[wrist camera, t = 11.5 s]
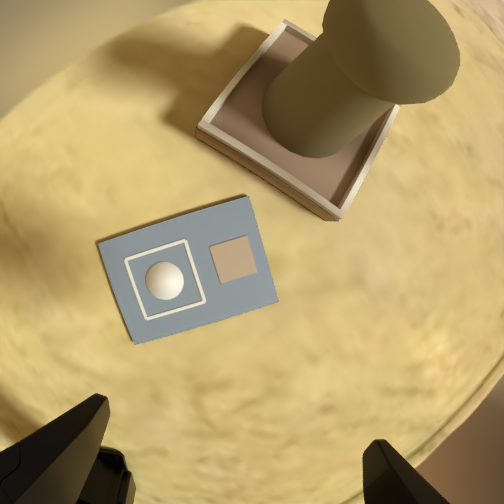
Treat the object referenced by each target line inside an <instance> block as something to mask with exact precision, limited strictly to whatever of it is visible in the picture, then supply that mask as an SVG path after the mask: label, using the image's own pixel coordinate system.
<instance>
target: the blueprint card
mask: <svg viewBox="0 0 504 504" xmlns="http://www.w3.org/2000/svg"><path fill="white" fill-rule="evenodd" d="M98 246H99V249H100V252H101V256H102V259H103V262H104V265H105V268H106V271H107V274H108V277H109V280H110V283H111V286H112V289H113V291H114V294H115V297H116V300H117V302H118V305H119V308H120V310H121V313H122V315H123V318H124V320H125V323H126V325H127V328H128V330H129V333H130V335H131V337H132V340H133V342H134V344H135V345H136V344H140V343H144V342H147V341H151V340H155V339H158V338H162V337H166V336H169V335H173V334H176V333H180V332H183V331H187V330H190V329H194V328H197V327H200V326H204V325H207V324H210V323H214V322H217V321H220V320H224V319H227V318H230V317H233V316H236V315H240V314H243V313H246V312H249V311H252V310H255V309H258V308H261V307H264V306H267V305H270V304H273V303H276V302H279V300H278V297H277V293H276V290H275V286H274V282H273V279H272V275H271V272H270V268H269V264H268V261H267V257H266V254H265V250H264V247H263V243H262V240H261V236H260V232H259V229H258V225H257V222H256V218H255V215H254V211H253V208H252V204H251V201H250V198H249V196H246V197H243V198H239V199H236V200H232V201H229V202H225V203H222V204H219V205H215V206H212V207H208V208H205V209H202V210H198V211H195V212H192V213H189V214H185V215H182V216H179V217H176V218H173V219H169V220H166V221H163V222H160V223H157V224H154V225H151V226H148V227H145V228H142V229H139V230H136V231H133V232H130V233H127V234H124V235H121V236H118V237H116V238H113V239H110V240H107V241H104V242H101V243H99V244H98Z"/></svg>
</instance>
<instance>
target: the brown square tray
mask: <svg viewBox="0 0 504 504" xmlns="http://www.w3.org/2000/svg"><path fill="white" fill-rule="evenodd" d="M315 39H317V38H316V37H314V36H313V35H311V34H309V33H308V32H306V31H304V30H303V29H301V28H299V27H298V26H296V25H294V24H293V23H291V22H289V21H287V20H285V19H284V20H283V22H282V23H281V24H280V25H279V26H278V27H277V28H276V29H275V30H274V31H273V32H272V33H271V34H270V35H269V37H268V38H267V39H266V40H265V41H264V42H263V43H262V44H261V45H260V47H259V48H258V49H257V50H256V51H255V52H254V53H253V55H252V56H251V57H250V58H249V59H248V60H247V62H246V63H245V64H244V65H243V66H242V68H241V69H240V70H239V71H238V72H237V74H236V75H235V76H234V77H233V79H232V80H231V81H230V82H229V84H228V85H227V86H226V87H225V89H224V90H223V91H222V93H221V94H220V95H219V96H218V98H217V99H216V100H215V102H214V103H213V104H212V106H211V107H210V108H209V110H208V111H207V112H206V114H205V115H204V116H203V118H202V119H201V121H200V122H199V123H198V125H197V127H196V128H195V131H196V138H198V139H199V140H201V141H203V142H204V143H206V144H208V145H209V146H211V147H213V148H214V149H216V150H218V151H219V152H221V153H223V154H224V155H226V156H228V157H229V158H231V159H232V160H234V161H236V162H237V163H239V164H241V165H242V166H244V167H245V168H247V169H248V170H250V171H252V172H253V173H255V174H256V175H258V176H259V177H261V178H263V179H264V180H266V181H267V182H269V183H270V184H272V185H273V186H275V187H276V188H278V189H279V190H281V191H282V192H284V193H285V194H287V195H288V196H290V197H291V198H293V199H294V200H296V201H297V202H299V203H300V204H302V205H303V206H305V207H306V208H308V209H309V210H310V211H312V212H313V213H315V214H316V215H318V216H319V217H320V218H322V219H323V220H325V221H339V219H342V218H343V217H344V215H345V213H346V211H347V210H348V208H349V206H350V204H351V202H352V200H353V199H354V197H355V195H356V193H357V191H358V189H359V188H360V186H361V184H362V182H363V180H364V178H365V176H366V174H367V173H368V171H369V169H370V167H371V165H372V163H373V161H374V159H375V157H376V155H377V153H378V151H379V149H380V147H381V145H382V143H383V141H384V139H385V137H386V135H387V133H388V131H389V129H390V127H391V125H392V123H393V121H394V119H395V117H396V115H397V113H398V111H399V108H400V106H401V105H397V104H394V105H393V106H392V107H391V108H390V109H389V110H387V111H386V112H385V113H384V114H383V115H381V116H380V117H379V118H378V119H377V120H376V121H374V122H373V123H372V124H371V125H370V126H368V127H367V128H366V129H365V130H364V131H363V132H361V133H360V134H359V135H358V136H357V137H356V138H354V139H353V140H352V141H351V142H350V143H349V144H347V145H346V146H345V147H344V148H343V149H341V150H340V151H338V152H337V153H335V154H334V155H332V156H328V157H323V158H319V159H317V158H307V157H302V156H300V155H297V154H295V153H292V152H290V151H288V150H287V149H286V148H284V147H283V146H282V145H281V144H279V143H278V142H277V141H276V140H275V139H274V137H273V136H272V135H271V133H270V132H269V130H268V129H267V127H266V124H265V121H264V118H263V115H262V99H263V96H264V93H265V91H266V88H267V87H268V86H269V84H270V83H271V82H272V81H273V80H274V79H275V78H276V77H277V76H278V75H279V74H280V73H281V72H282V71H283V70H284V69H285V68H286V67H287V66H288V65H289V64H290V63H291V62H292V61H293V60H294V59H295V58H296V57H297V56H298V55H299V54H300V53H301V52H303V51H304V50H305V49H306V48H307V47H308V46H309V45H310V44H311V43H312V42H313V41H314V40H315Z"/></svg>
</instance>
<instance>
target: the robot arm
mask: <svg viewBox="0 0 504 504" xmlns="http://www.w3.org/2000/svg"><path fill="white" fill-rule="evenodd" d="M109 417H110V408H109V401H108V398H107V397H106V396H103V395H101V394H98V393H96V394H93V395H92V396H90V397H89V398H87V399H86V400H84V401H83V402H81V403H80V404H78V405H76V406H75V407H73V408H72V409H70V410H69V411H67V412H65V413H64V414H62V415H61V416H59V417H58V418H56V419H54V420H53V421H51V422H50V423H48V424H46V425H45V426H43V427H42V428H40V429H38V430H37V431H35V432H33V433H32V434H30V435H29V436H27V437H25V438H24V439H22V440H20V442H17V443H15V444H14V445H12V446H10V447H8V448H6V449H5V450H3V451H1V452H0V504H133V502H134V496H135V490H136V486H135V483H134V480H133V476H132V473H131V472H130V471H128V468H127V465H126V461H125V457H124V455H123V454H122V453H120V452H116V451H110V450H104V449H99V448H100V445H101V442H102V439H103V436H104V433H105V429H106V426H107V423H108V420H109ZM119 457H120V458H119ZM362 459H363V492H364V501H365V504H450V503H449V502H448V501H447V500H446V499H445V498H444V497H442V495H440V494H439V493H438V492H437V491H436V490H435V489H434V488H433V487H432V486H431V485H430V484H429V483H428V482H427V481H426V480H425V479H424V478H423V477H422V476H421V475H420V474H419V473H418V472H417V471H416V470H415V469H414V468H413V467H412V466H411V465H410V464H409V463H408V462H407V461H406V460H405V459H404V458H403V457H402V456H401V455H400V454H399V453H398V452H397V451H396V450H395V449H394V448H393V447H392V446H391V445H390V444H389V443H388V442H387V441H386V440H385V439H376V440H374V441H373V442H372V443H371V444H370V445H369V446H368V448H367V449H366V450H365V451H364V453H363V457H362Z"/></svg>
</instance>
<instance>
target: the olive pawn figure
mask: <svg viewBox="0 0 504 504" xmlns="http://www.w3.org/2000/svg"><path fill="white" fill-rule="evenodd" d="M322 26H323V33H322V34H321V35H320V36H319V37H318V38H317V39H315V40H314V41H313V42H312V43H311V44H310V45H309V46H308V47H307V48H306V49H305V50H304V51H303V52H301V53H300V54H299V55H298V56H297V57H296V58H295V59H294V60H293V61H292V62H291V63H290V64H289V65H288V66H287V67H286V68H285V69H284V70H283V71H282V72H281V73H280V74H279V75H278V76H277V77H276V78H275V79H274V80H273V81H272V82H271V83H270V84H269V86H268V87H267V88H266V91H265V93H264V96H263V99H262V115H263V118H264V121H265V124H266V127H267V129H268V130H269V132H270V133H271V135H272V136H273V137H274V139H275V140H276V141H277V142H278V143H279V144H281V145H282V146H283V147H284V148H286V149H287V150H288V151H290V152H292V153H295V154H297V155H300V156H302V157H307V158H317V159H319V158H323V157H328V156H332V155H334V154H335V153H337V152H338V151H340V150H341V149H343V148H344V147H345V146H346V145H347V144H349V143H350V142H351V141H352V140H353V139H354V138H356V137H357V136H358V135H359V134H360V133H361V132H363V131H364V130H365V129H366V128H367V127H368V126H370V125H371V124H372V123H373V122H374V121H376V120H377V119H378V118H379V117H380V116H381V115H383V114H384V113H385V112H386V111H387V110H389V109H390V108H391V107H392V106H393V105H394V104H397V105H402V104H416V103H425V102H427V101H430V100H432V99H434V98H436V97H438V96H439V95H441V94H442V93H444V92H445V91H446V90H447V89H448V88H449V87H450V86H451V85H452V84H453V82H454V79H455V77H456V75H457V72H458V69H459V66H460V52H459V49H458V45H457V42H456V39H455V37H454V34H453V32H452V31H451V29H450V27H449V25H448V23H447V22H446V20H445V19H444V18H443V16H442V15H441V14H440V13H439V11H438V10H437V9H436V8H435V7H434V6H433V5H432V4H431V3H430V2H429V1H428V0H330V1H329V3H328V6H327V9H326V12H325V14H324V19H323V24H322Z"/></svg>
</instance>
